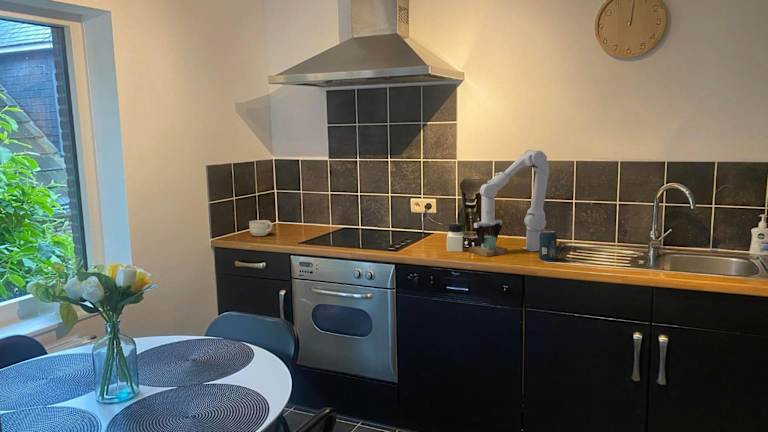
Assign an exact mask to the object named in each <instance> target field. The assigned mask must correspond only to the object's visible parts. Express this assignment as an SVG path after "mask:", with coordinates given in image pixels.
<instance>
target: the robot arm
mask: <svg viewBox="0 0 768 432" xmlns="http://www.w3.org/2000/svg"><path fill="white" fill-rule="evenodd" d="M547 159H548V155H546V154H545V152H544V151H542V150H533V149H527V150H526V151H524V153H522V154H520V156H519V157H518V158H517V159H516V160H515V161H514V162H513V163H512V164H511V165H510V166H509V167H508V168H506V169H505V170H504V171H499V172H496V173H495V174H494V175H495V176H493V177H492V178H491V179H490V180H487V183H483V184H482V185H481V186H480V188H479V190H478V191H479V194H480V196H481V201H480V202H481V204H480V205H481V209H480V211H481V217H480V218H481V221H478V222H474V223H473V229H474V231H475V234H476V236H477V238H478V243H479V244H480V245H481V244H483V243H484V237H485V234H486V229H487V228H485V227H490V231H491V236H492V237H496V242H497V241H498V236H499V234H500V232H501V230H502V229H503V225H502V224H503V220H502V219H495V218H496V217H495V215H496V213H495V212H496V199H495V198H496V196H497V195H498V192H499V191H500V190H501V189H502V188H503V187H504V186H506V185H507V184H508V183H509V181H510V178H511V177H512V176H514V175H515V174H516V173H517V172H518V171H520V170H521V169H522V168H523V167H531V168H532V169H533V170H534V171H535V177H534V185H533V191H532V196H531V203H530V208H528V209H527V213H526V215H525V217H524V220H523V223H524V225H525V226H526V235H525V236H526V237H525V241H526V244H525V245H526V246H523V247H522V249H524V250H526V251H529V252H539V235H540V233H541V231H542V230H547V229H546V225H547V220H546V213H545V210H544V205H545V199H546V194H547V188H548V183H549V182H548V181H549V175H550V166H549V163H548V160H547Z"/></svg>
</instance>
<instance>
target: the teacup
mask: <svg viewBox="0 0 768 432" xmlns="http://www.w3.org/2000/svg"><path fill="white" fill-rule="evenodd" d="M248 225H249V227H248V228H249V232H250V234H251V235H252V236H253V237H266V236H267V235H268V234H269V233H270V232H271V230H272V229H273V228H274V224H273V222H271V221H270V220H265V219H263V220H262V219H260V220H258V219H256V220H250V221H248Z"/></svg>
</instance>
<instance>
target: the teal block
mask: <svg viewBox="0 0 768 432" xmlns="http://www.w3.org/2000/svg"><path fill="white" fill-rule="evenodd" d="M480 246H481V248H483V249H487V250H490V249H496V246H497V241H496V237H492V235H486V236H485V235H484V243H483V244H481V243H480Z"/></svg>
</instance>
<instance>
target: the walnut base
mask: <svg viewBox="0 0 768 432" xmlns="http://www.w3.org/2000/svg"><path fill="white" fill-rule="evenodd" d="M468 253H471V254H474V255H479V256H482V257H487V258H488V257H494V256H499V255H505V254H508V248H506V247H502V246H497V245H496V249H490V250H487V249H483V248H481V245H476V246H471V247H468Z"/></svg>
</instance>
